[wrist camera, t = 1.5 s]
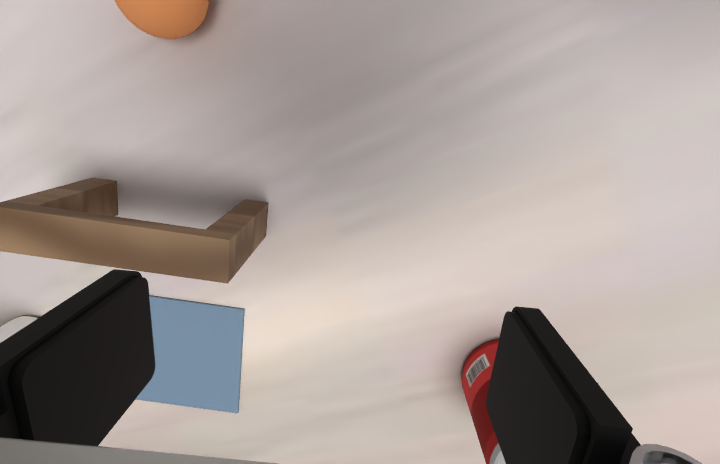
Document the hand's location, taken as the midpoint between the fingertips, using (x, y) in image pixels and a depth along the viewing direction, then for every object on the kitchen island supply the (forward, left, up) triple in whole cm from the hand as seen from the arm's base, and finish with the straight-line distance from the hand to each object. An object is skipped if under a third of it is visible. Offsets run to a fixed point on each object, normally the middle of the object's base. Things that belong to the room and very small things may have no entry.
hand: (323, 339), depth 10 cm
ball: (-11, -15, -21) cm, 28 cm away
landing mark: (+20, -15, -24) cm, 35 cm away
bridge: (+5, -15, -24) cm, 29 cm away
